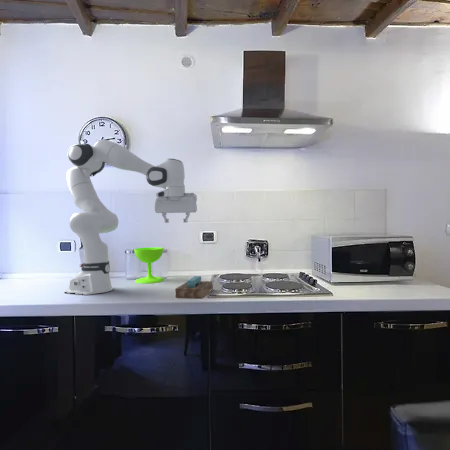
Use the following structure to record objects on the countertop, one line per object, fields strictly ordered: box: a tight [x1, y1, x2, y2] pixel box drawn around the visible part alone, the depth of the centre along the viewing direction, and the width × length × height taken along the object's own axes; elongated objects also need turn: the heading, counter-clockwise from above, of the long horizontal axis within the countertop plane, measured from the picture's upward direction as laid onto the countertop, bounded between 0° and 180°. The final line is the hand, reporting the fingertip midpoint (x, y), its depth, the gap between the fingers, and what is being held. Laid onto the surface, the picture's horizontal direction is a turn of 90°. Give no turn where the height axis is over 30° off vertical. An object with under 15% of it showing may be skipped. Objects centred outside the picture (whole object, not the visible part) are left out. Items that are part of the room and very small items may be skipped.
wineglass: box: [133, 246, 165, 285], centre depth 198 cm, size 16×16×18 cm
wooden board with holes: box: [174, 280, 213, 299], centre depth 162 cm, size 12×18×4 cm, turn 168°
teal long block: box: [186, 275, 202, 288], centre depth 162 cm, size 3×12×7 cm, turn 168°
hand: (176, 222), depth 168 cm, fingers open, 8 cm apart
